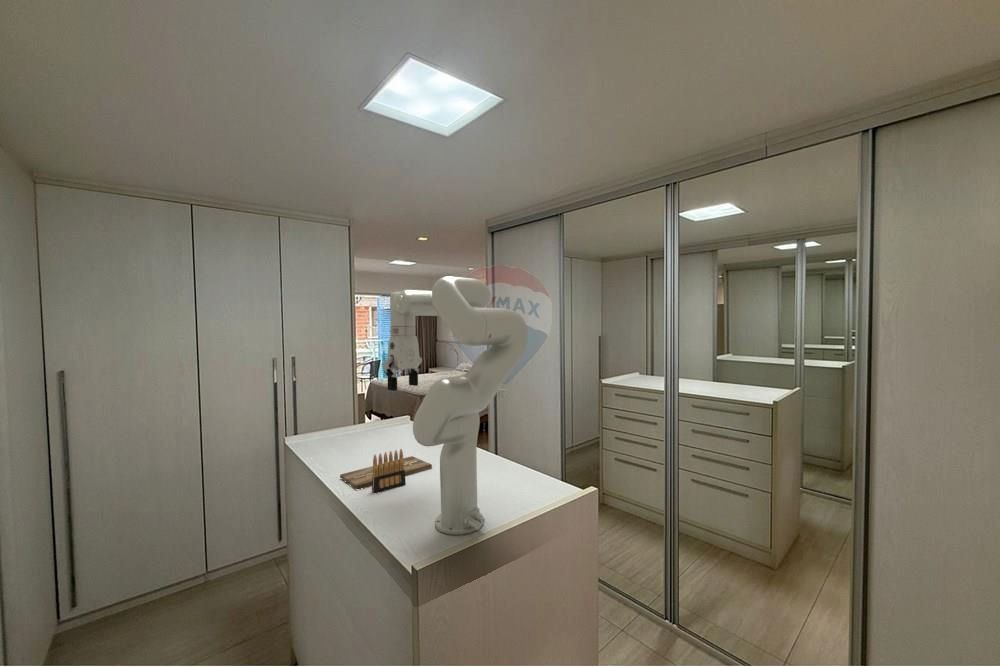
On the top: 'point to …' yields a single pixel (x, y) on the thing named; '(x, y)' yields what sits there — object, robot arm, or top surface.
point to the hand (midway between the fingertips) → (403, 387)
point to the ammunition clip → (388, 472)
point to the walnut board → (364, 476)
